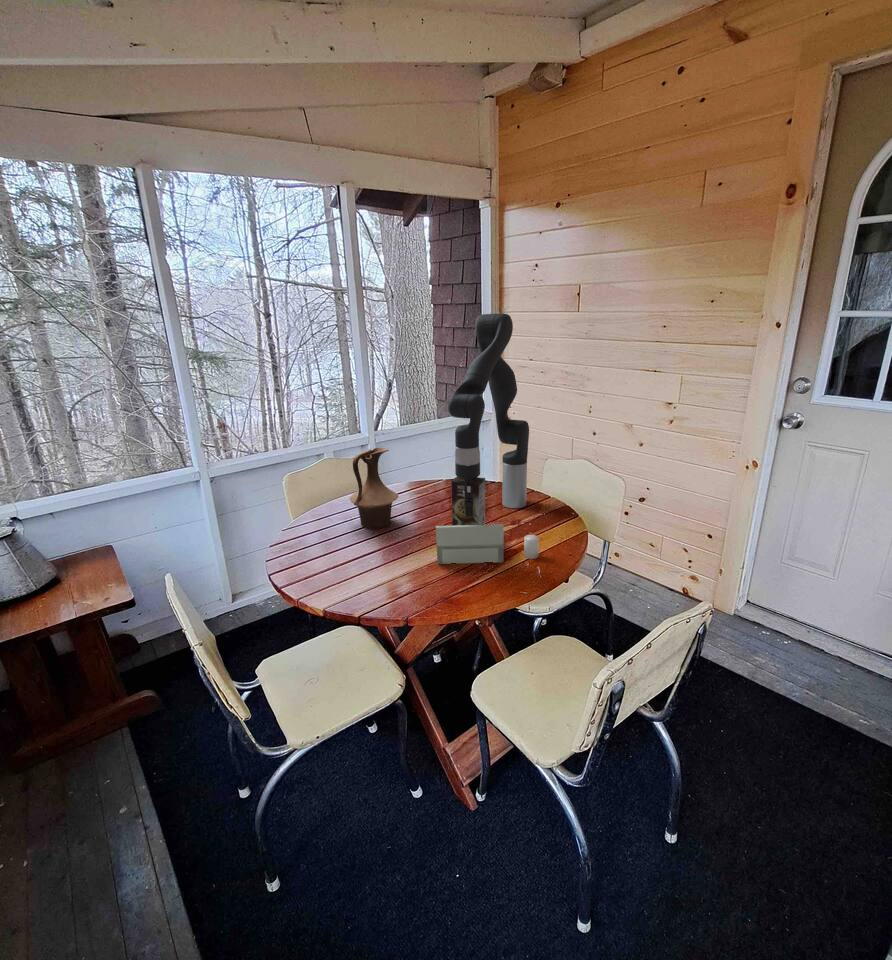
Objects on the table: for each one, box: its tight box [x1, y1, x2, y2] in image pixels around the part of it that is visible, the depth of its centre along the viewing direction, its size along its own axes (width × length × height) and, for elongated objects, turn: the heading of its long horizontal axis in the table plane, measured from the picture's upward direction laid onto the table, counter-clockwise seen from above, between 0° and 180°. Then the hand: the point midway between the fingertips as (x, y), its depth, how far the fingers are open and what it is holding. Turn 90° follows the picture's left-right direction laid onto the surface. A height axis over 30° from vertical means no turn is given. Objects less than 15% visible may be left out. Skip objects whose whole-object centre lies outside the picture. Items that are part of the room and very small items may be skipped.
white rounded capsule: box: [523, 534, 540, 560], centre depth 158 cm, size 4×4×6 cm
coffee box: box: [451, 476, 486, 526], centre depth 159 cm, size 9×6×16 cm
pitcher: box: [349, 447, 399, 530], centre depth 182 cm, size 18×17×28 cm
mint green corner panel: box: [435, 523, 505, 565], centre depth 160 cm, size 14×20×12 cm
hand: (468, 510), depth 160 cm, fingers closed on coffee box, 8 cm apart
